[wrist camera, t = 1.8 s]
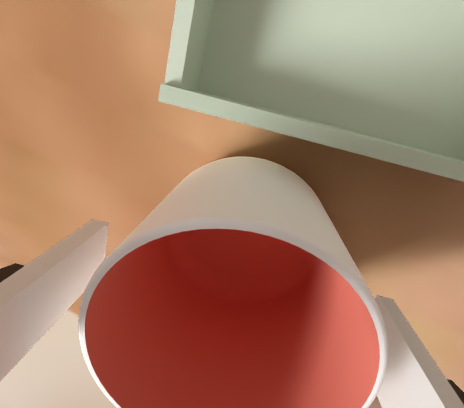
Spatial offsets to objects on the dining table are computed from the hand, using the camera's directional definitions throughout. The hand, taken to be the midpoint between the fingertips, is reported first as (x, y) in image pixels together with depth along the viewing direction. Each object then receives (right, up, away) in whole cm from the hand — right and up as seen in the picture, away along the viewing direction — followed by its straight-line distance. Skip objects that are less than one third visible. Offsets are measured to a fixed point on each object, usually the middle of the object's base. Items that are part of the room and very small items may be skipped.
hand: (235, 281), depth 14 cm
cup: (+1, +2, +5) cm, 5 cm away
